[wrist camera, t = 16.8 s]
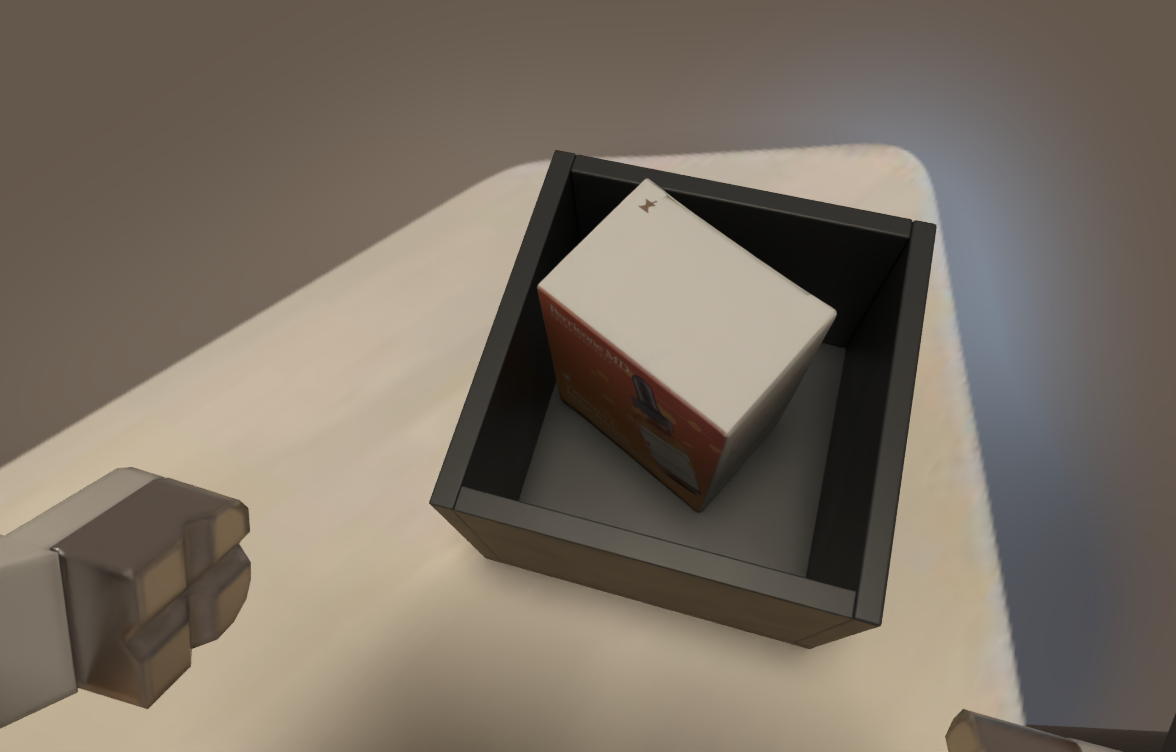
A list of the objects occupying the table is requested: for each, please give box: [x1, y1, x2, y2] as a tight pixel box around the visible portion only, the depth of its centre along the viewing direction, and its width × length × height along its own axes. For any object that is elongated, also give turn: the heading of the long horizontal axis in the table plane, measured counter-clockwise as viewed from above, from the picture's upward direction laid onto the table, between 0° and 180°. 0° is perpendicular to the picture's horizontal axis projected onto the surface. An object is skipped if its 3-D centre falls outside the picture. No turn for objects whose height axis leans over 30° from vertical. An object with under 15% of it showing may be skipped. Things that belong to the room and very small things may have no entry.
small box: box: [537, 179, 837, 512], centre depth 30 cm, size 8×6×10 cm
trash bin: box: [429, 150, 936, 649], centre depth 30 cm, size 14×14×10 cm
